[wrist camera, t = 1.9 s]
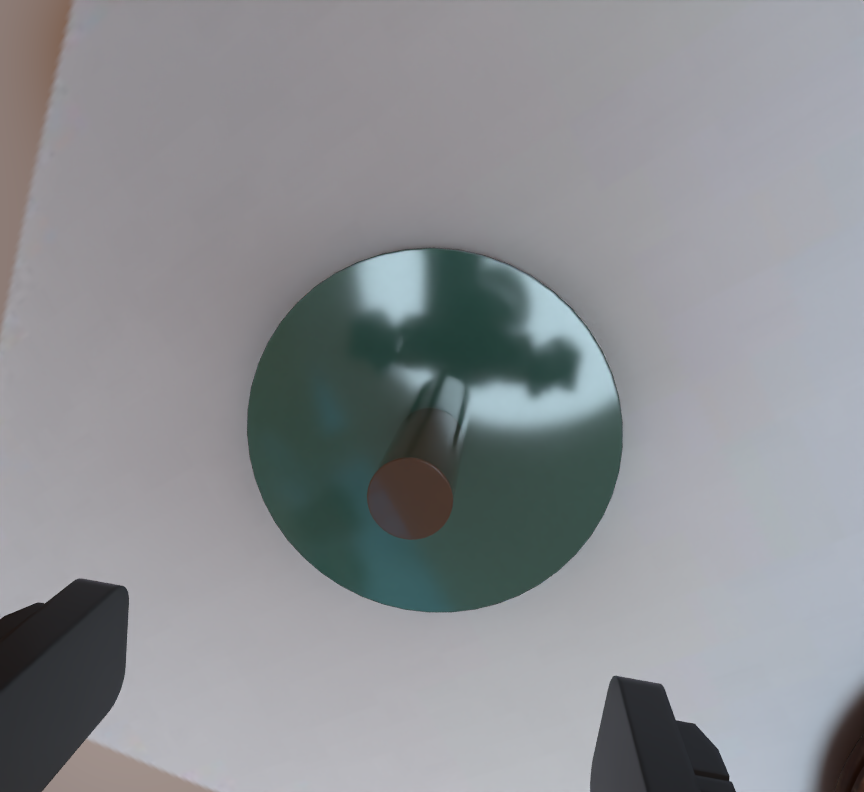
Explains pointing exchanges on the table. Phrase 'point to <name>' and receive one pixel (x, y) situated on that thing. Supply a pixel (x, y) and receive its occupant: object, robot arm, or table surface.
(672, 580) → the table surface
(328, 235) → the table surface
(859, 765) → the wooden thread spool stand
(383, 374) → the lid
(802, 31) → the table surface
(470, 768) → the table surface
